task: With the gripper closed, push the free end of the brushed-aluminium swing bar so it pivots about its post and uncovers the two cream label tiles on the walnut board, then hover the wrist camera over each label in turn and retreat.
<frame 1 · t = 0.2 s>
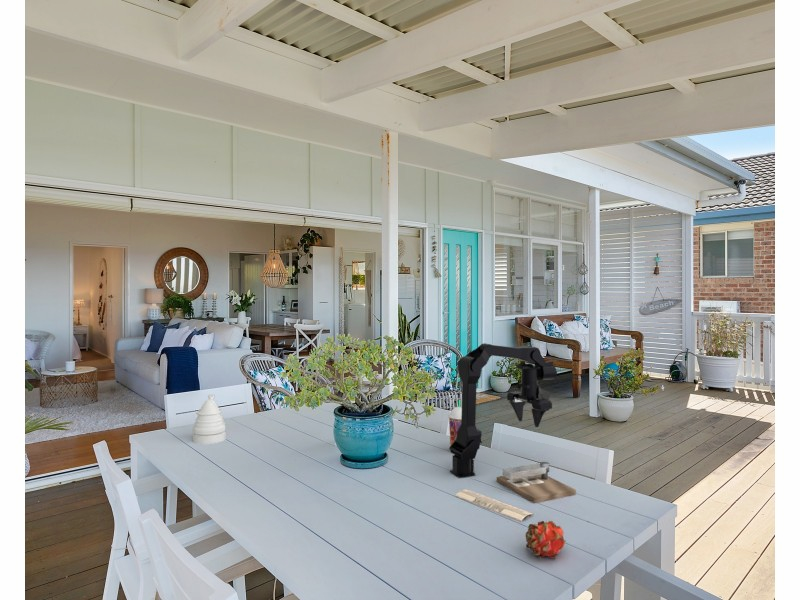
hand: (528, 424, 188), 14 cm above the table, tool pointing down, fingers open, 9 cm apart
swing bar: (527, 469, 166), point 5 cm above the table, hinge at 0.0°
label board: (534, 487, 165), on the table
honey pot: (209, 439, 216), on the table
smoothie: (459, 451, 202), on the table
dragon fruit: (546, 554, 124), on the table
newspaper: (491, 509, 151), on the table
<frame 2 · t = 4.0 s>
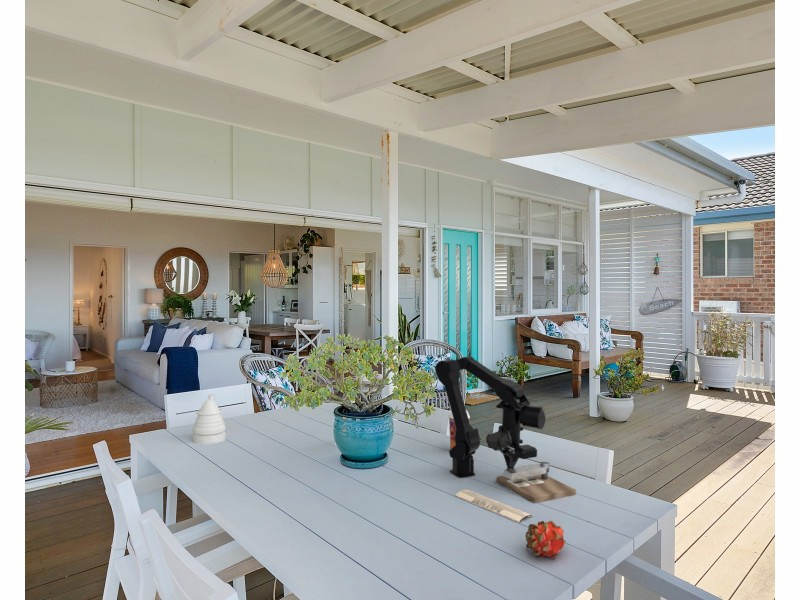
hand: (510, 471, 167), 5 cm above the table, tool pointing down, fingers closed
swing bar: (528, 470, 166), point 5 cm above the table, hinge at 1.6°, touching gripper
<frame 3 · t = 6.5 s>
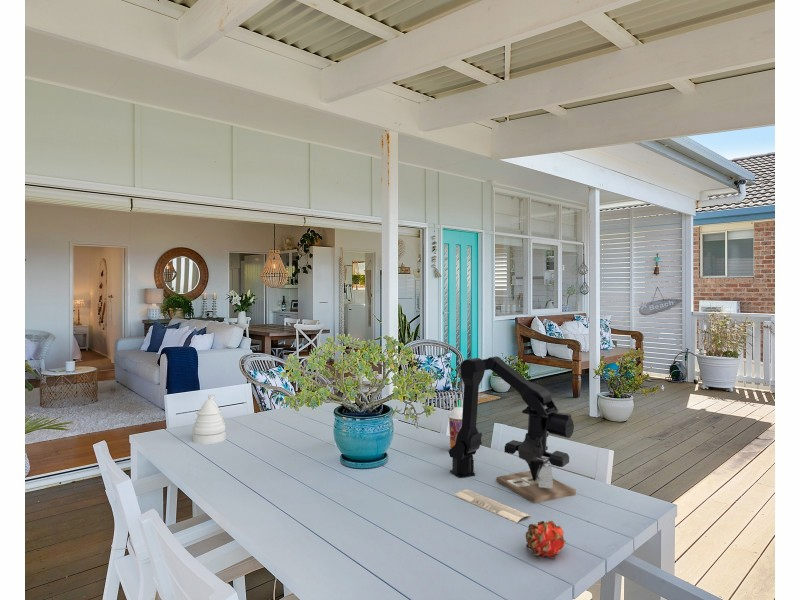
hand: (534, 480, 159), 5 cm above the table, tool pointing down, fingers closed
swing bar: (545, 474, 163), point 5 cm above the table, hinge at 50.9°, touching gripper
everything else where it was.
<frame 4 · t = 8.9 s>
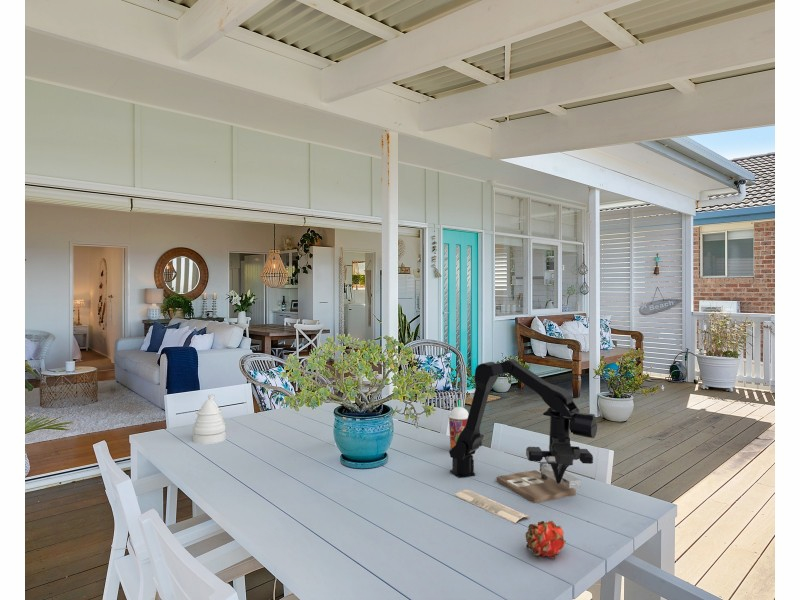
hand: (558, 483, 157), 5 cm above the table, tool pointing down, fingers closed
swing bar: (557, 473, 163), point 5 cm above the table, hinge at 85.3°
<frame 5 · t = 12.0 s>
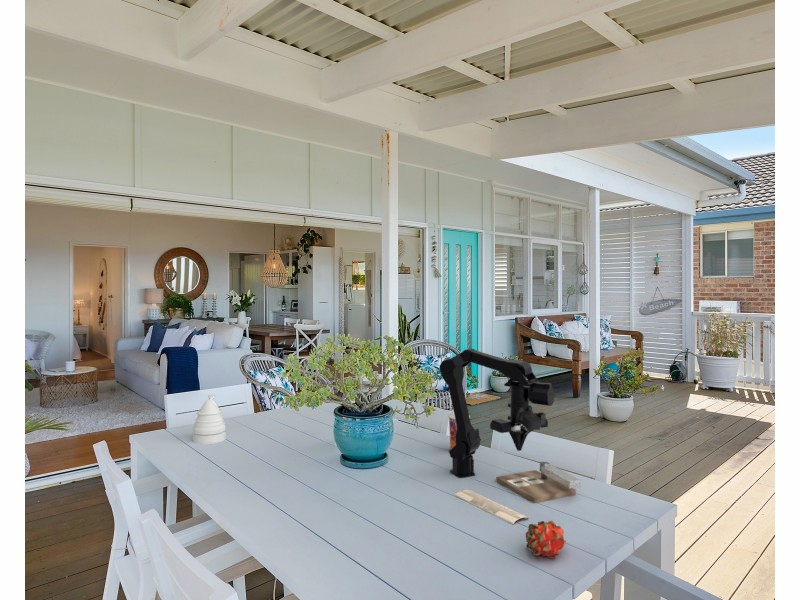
hand: (519, 450, 165), 12 cm above the table, tool pointing down, fingers closed
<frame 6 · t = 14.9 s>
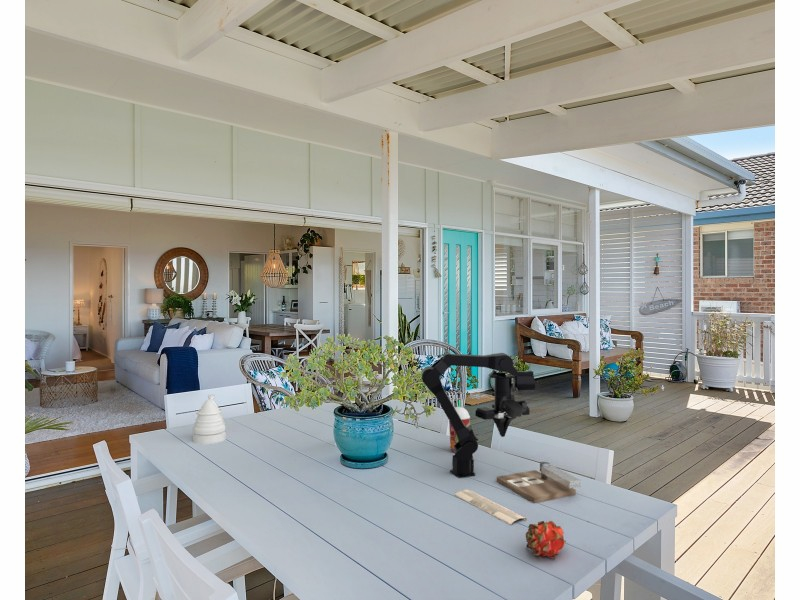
hand: (502, 436, 177), 13 cm above the table, tool pointing down, fingers closed
at the end: swing bar at +85° (first picture: +0°) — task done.
